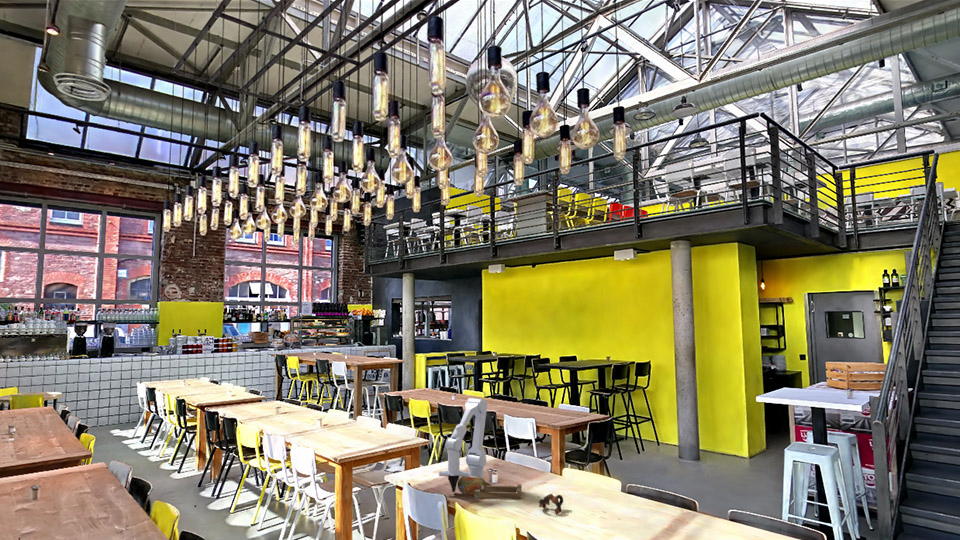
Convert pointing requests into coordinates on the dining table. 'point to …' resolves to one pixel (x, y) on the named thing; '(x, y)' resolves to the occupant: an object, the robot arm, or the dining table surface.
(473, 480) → the tin
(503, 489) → the walnut rails
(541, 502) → the brown figurine
